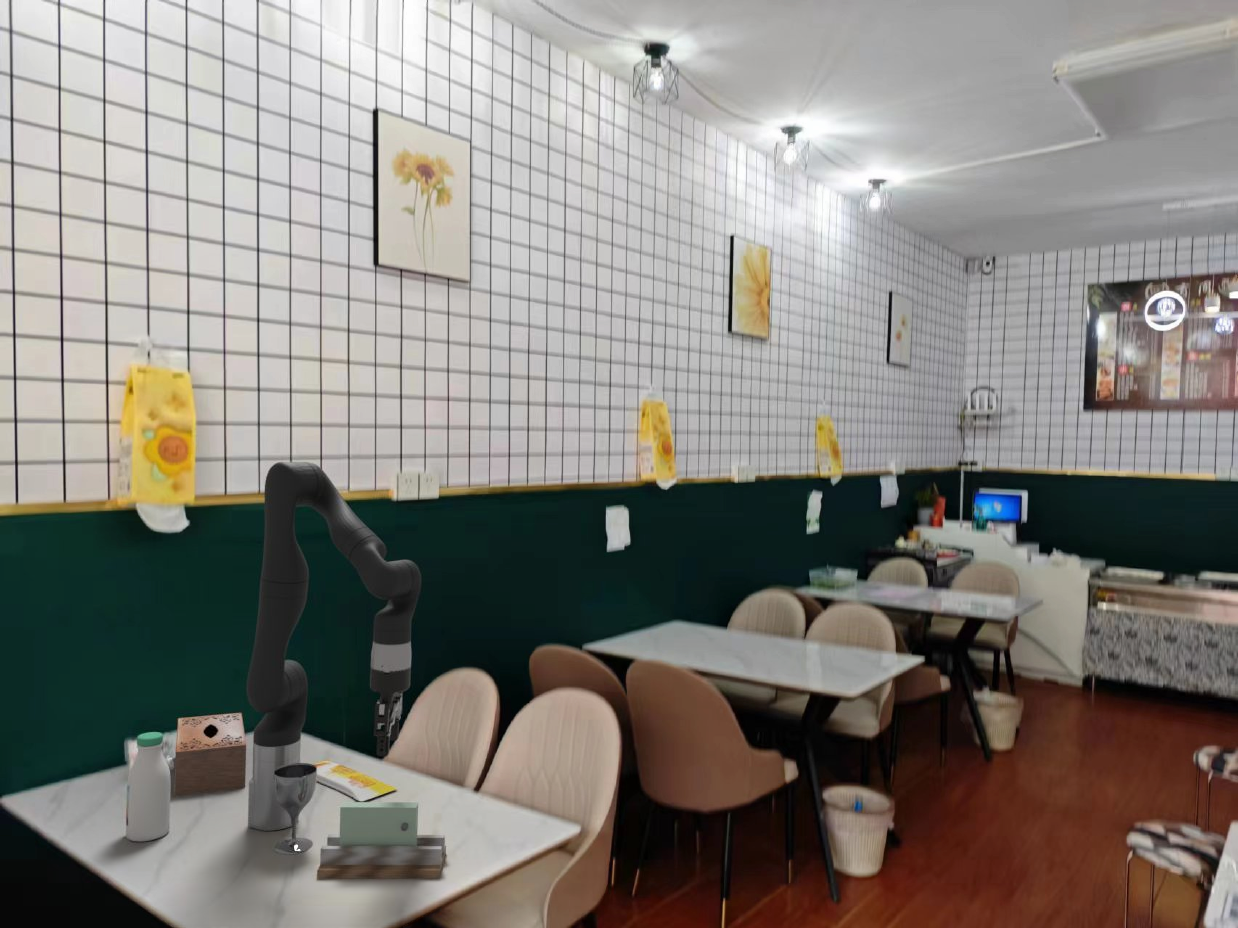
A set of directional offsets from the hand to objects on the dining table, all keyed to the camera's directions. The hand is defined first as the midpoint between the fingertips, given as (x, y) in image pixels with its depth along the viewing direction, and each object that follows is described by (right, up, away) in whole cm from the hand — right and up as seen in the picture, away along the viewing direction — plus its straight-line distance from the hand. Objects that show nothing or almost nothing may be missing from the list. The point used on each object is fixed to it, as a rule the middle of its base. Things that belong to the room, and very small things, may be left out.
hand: (387, 747), depth 171 cm
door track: (0, -21, -4) cm, 21 cm away
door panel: (-1, -20, -4) cm, 20 cm away
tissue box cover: (-53, -19, +40) cm, 69 cm away
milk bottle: (-50, -19, +6) cm, 54 cm away
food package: (-20, -20, +36) cm, 46 cm away
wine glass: (-19, -21, +3) cm, 28 cm away
